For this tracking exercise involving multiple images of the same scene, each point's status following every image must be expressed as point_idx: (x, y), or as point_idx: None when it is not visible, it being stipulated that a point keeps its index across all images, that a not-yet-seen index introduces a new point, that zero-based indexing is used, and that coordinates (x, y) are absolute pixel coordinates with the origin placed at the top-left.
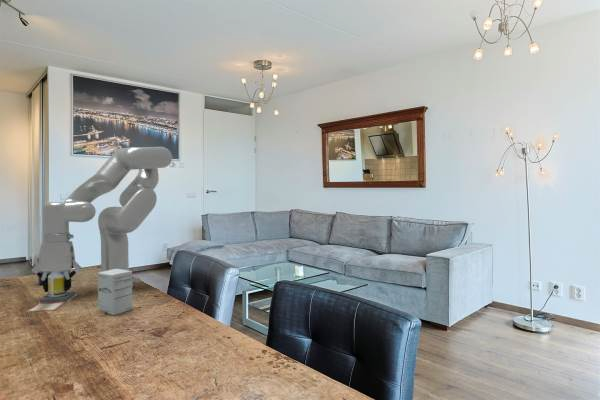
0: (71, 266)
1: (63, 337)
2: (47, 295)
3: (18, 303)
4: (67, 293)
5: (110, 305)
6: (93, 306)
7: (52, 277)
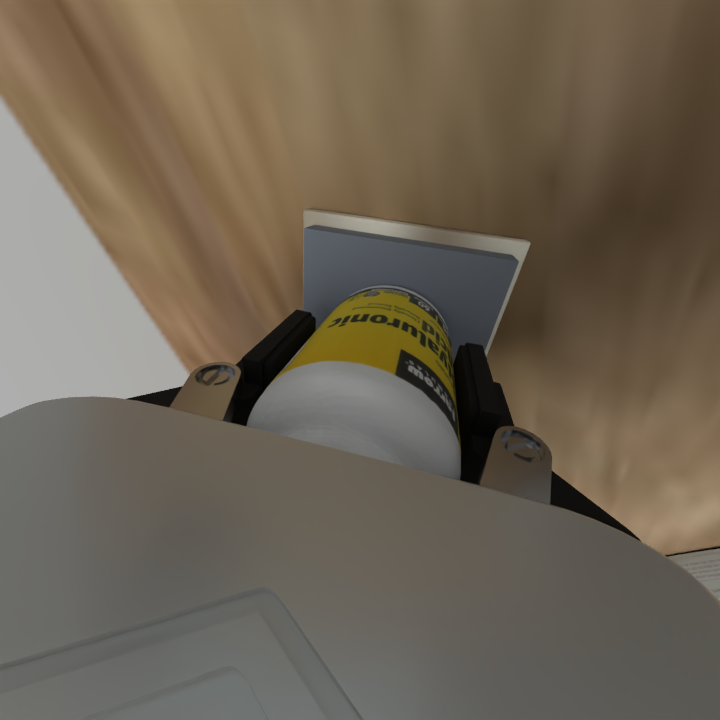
0: (620, 552)
1: None
2: (313, 312)
3: (178, 281)
4: (453, 306)
5: None
6: (599, 497)
7: None
